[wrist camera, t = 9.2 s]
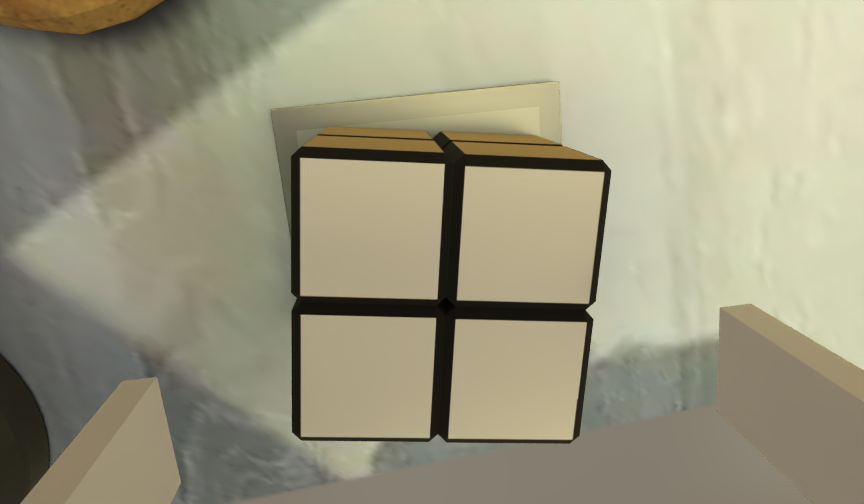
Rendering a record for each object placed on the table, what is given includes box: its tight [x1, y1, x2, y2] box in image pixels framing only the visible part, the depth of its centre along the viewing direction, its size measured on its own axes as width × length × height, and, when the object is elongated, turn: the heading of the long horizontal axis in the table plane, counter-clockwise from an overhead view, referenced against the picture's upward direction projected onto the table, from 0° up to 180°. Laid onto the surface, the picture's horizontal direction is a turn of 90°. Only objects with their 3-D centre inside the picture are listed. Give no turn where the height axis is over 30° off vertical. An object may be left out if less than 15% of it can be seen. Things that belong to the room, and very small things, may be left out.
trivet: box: [271, 82, 562, 238], centre depth 31 cm, size 13×13×1 cm
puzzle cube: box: [291, 126, 611, 444], centre depth 26 cm, size 10×10×10 cm
